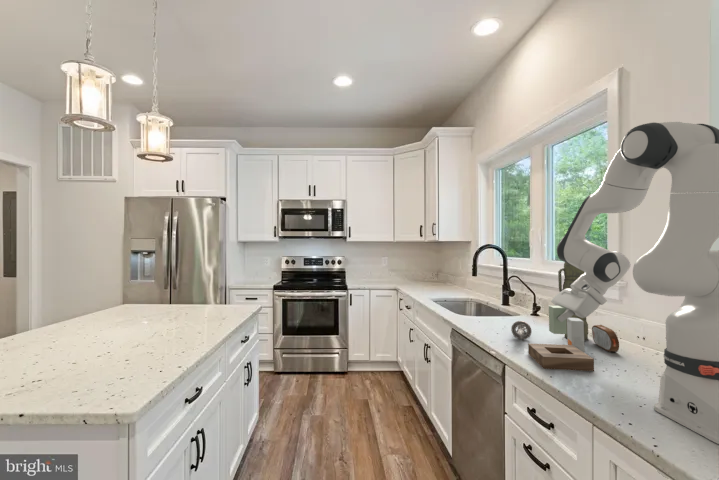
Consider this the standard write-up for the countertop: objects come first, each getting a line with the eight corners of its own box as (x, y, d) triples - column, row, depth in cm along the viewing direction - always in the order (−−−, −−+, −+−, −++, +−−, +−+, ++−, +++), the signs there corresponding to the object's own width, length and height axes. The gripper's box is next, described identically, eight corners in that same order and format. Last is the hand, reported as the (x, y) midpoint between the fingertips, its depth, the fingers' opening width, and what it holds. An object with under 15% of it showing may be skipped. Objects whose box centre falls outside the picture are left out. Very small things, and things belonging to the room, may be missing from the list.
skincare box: (567, 347, 129) (566, 317, 129) (579, 348, 128) (578, 317, 128) (572, 352, 123) (571, 320, 123) (585, 353, 122) (584, 321, 122)
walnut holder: (594, 371, 104) (593, 358, 104) (543, 368, 107) (543, 356, 107) (572, 355, 119) (571, 345, 119) (528, 354, 121) (528, 343, 122)
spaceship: (505, 328, 129) (525, 322, 126) (510, 320, 159) (527, 315, 156) (514, 348, 126) (535, 343, 123) (517, 336, 157) (534, 331, 154)
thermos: (596, 341, 136) (593, 258, 137) (564, 340, 139) (562, 258, 140) (587, 336, 145) (584, 257, 145) (557, 334, 147) (555, 258, 148)
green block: (566, 334, 111) (565, 307, 111) (553, 333, 112) (553, 307, 112) (561, 331, 115) (560, 305, 115) (549, 330, 116) (548, 305, 116)
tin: (620, 354, 120) (619, 332, 120) (610, 354, 120) (610, 331, 120) (599, 343, 134) (598, 322, 134) (590, 342, 135) (589, 322, 135)
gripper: (564, 281, 123) (537, 306, 124) (593, 288, 102) (560, 318, 104) (578, 292, 122) (550, 318, 123) (609, 302, 102) (576, 332, 103)
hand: (555, 318), depth 113 cm, fingers closed on green block, 4 cm apart
